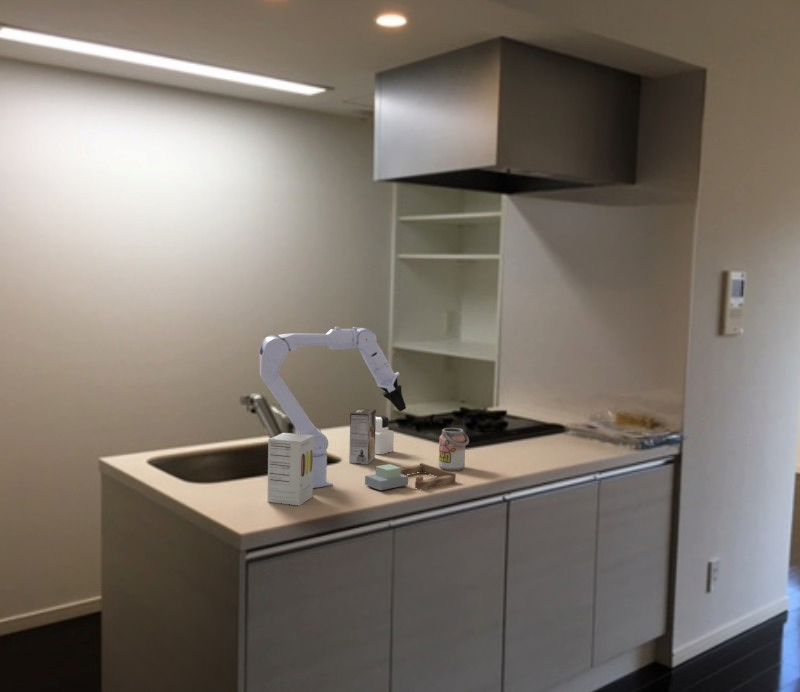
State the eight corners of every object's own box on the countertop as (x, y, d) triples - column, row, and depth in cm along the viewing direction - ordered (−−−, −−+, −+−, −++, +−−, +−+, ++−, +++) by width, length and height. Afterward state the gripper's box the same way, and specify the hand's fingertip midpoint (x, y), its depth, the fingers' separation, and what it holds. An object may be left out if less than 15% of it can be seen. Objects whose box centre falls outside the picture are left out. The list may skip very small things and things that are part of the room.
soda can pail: (472, 469, 248) (474, 431, 246) (453, 473, 242) (455, 434, 241) (451, 463, 254) (453, 426, 253) (432, 467, 249) (433, 429, 248)
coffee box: (356, 456, 260) (357, 407, 258) (375, 458, 259) (376, 409, 257) (348, 463, 251) (349, 412, 249) (368, 464, 250) (369, 414, 248)
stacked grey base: (380, 492, 220) (380, 472, 219) (364, 486, 225) (365, 467, 225) (408, 486, 226) (408, 467, 225) (392, 481, 231) (393, 462, 231)
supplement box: (299, 506, 205) (300, 441, 203) (266, 502, 207) (267, 438, 205) (313, 496, 214) (314, 434, 212) (281, 492, 216) (282, 431, 215)
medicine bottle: (377, 448, 273) (378, 413, 271) (393, 451, 268) (394, 416, 267) (363, 451, 267) (364, 416, 266) (379, 455, 263) (380, 419, 261)
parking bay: (419, 490, 223) (420, 477, 222) (384, 477, 235) (384, 465, 235) (456, 482, 232) (456, 470, 231) (420, 470, 244) (421, 459, 244)
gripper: (394, 364, 220) (416, 406, 224) (388, 354, 235) (410, 393, 238) (371, 377, 220) (394, 418, 223) (367, 365, 234) (389, 404, 238)
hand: (401, 406), depth 231 cm, fingers open, 7 cm apart
